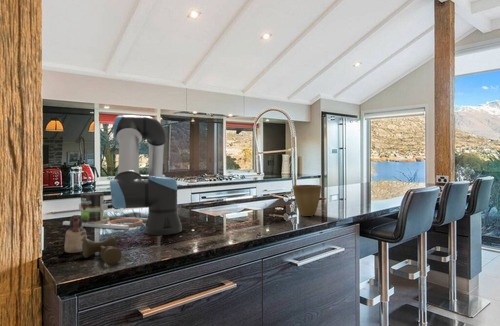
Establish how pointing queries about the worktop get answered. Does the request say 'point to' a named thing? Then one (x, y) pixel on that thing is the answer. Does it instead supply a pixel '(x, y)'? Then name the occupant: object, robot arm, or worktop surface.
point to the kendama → (103, 250)
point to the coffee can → (92, 206)
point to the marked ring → (137, 221)
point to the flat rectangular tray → (106, 218)
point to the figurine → (75, 235)
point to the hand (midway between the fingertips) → (90, 207)
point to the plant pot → (307, 198)
